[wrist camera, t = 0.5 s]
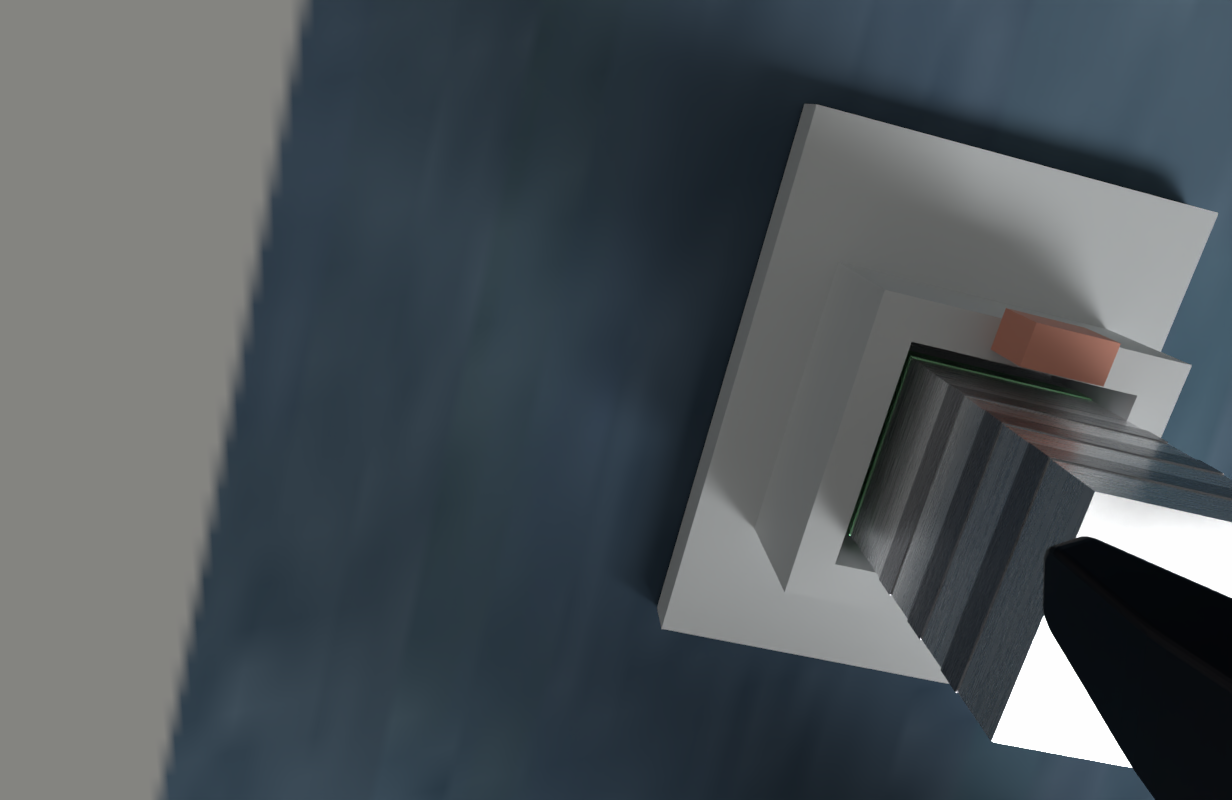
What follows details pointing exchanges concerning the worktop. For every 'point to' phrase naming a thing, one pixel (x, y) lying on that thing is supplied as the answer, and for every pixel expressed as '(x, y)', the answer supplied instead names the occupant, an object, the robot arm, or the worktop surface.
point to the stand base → (903, 360)
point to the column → (1021, 530)
